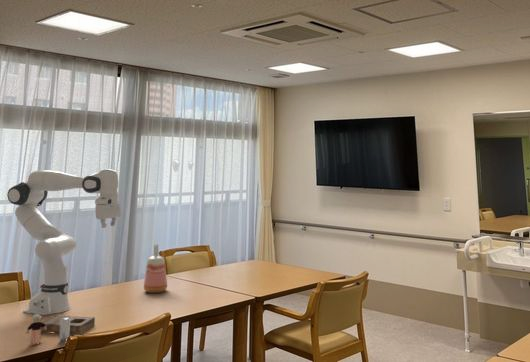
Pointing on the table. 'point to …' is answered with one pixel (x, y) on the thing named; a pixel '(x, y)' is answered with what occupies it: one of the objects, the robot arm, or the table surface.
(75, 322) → the peg board
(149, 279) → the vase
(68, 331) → the peg
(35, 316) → the grandmother figurine
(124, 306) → the table surface
